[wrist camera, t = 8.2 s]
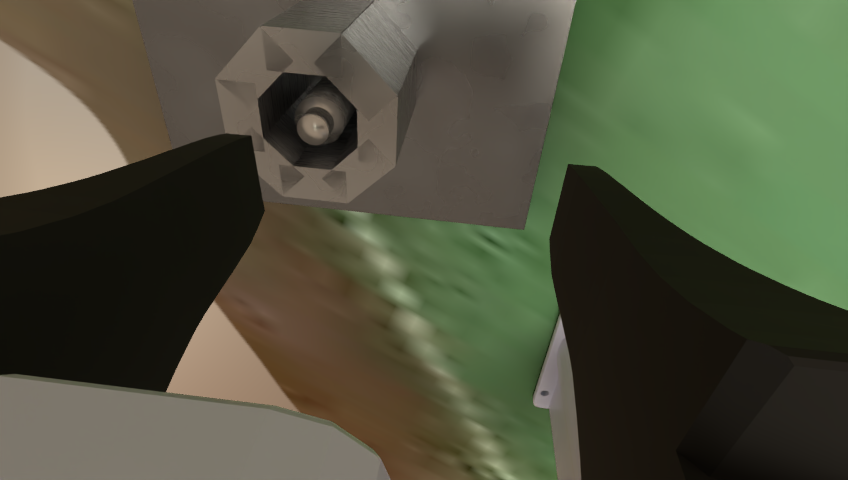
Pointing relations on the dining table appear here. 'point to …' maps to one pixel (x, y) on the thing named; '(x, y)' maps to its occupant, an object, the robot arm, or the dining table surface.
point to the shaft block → (434, 98)
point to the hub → (289, 84)
